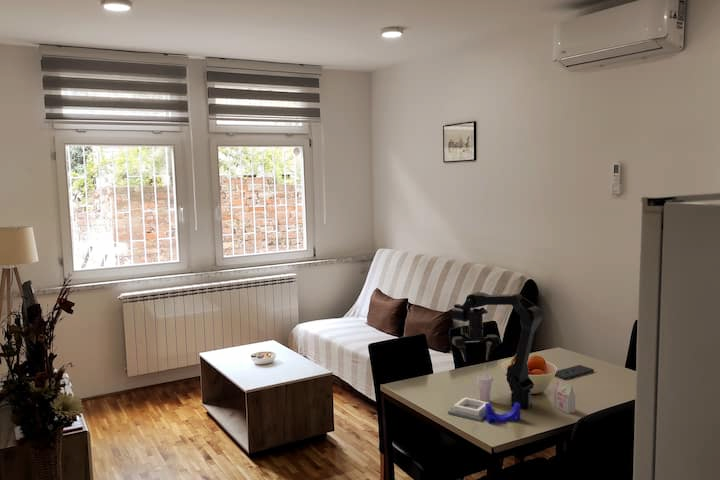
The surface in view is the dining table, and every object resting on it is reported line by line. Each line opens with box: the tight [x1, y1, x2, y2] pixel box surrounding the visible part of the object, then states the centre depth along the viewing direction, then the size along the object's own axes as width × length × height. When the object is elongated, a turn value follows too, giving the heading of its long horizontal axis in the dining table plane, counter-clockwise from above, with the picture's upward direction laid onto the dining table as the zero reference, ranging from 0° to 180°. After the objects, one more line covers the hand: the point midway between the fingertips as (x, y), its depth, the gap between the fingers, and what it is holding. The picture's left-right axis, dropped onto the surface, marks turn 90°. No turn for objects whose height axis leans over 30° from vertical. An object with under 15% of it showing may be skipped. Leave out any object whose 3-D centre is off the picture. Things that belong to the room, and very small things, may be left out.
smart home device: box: [555, 364, 595, 381], centre depth 267 cm, size 8×2×20 cm
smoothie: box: [475, 365, 494, 403], centre depth 234 cm, size 6×6×14 cm
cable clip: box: [484, 402, 521, 424], centre depth 216 cm, size 12×4×6 cm, turn 92°
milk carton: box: [553, 381, 576, 414], centre depth 225 cm, size 4×7×10 cm, turn 26°
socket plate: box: [447, 396, 495, 422], centre depth 224 cm, size 13×13×3 cm
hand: (476, 360), depth 243 cm, fingers open, 9 cm apart
